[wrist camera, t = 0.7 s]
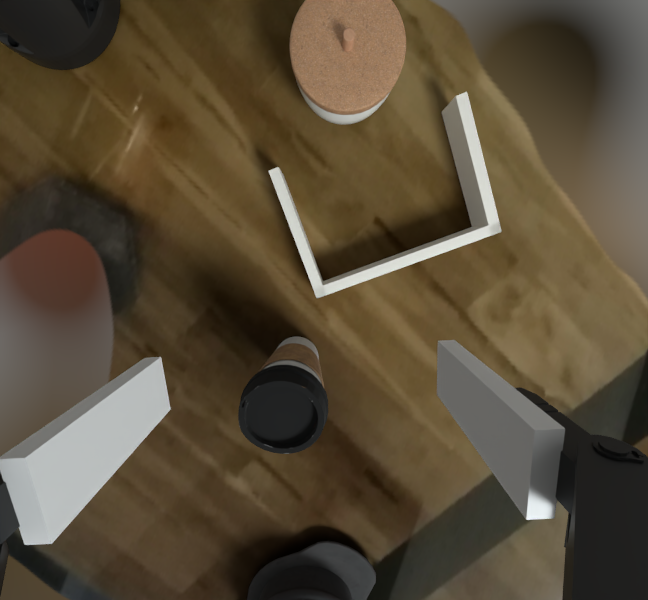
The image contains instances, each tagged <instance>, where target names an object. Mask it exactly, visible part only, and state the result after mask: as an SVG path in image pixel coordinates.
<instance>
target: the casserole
mask: <svg viewBox="0 0 648 600" xmlns="http://www.w3.org/2000/svg"><path fill="white" fill-rule="evenodd" d="M375 582H376V573H375V571H374V569H373V566H372V565H371V564H370V563H369V561H368V560H367V559H366V558H365V557H364V556H363V555H362V554H360V553H359V552H358V551H356V550H354V549H353V548H351V547H349V546H347V545H344V544H341V543H339V542H333V541H320V542H317V543H315V544H313V545H310V546H308V547H307V548H305V549H303V550H301V551H299V552H296V553H293V554H290V555H287V556H284V557H280V558H277V559H275V560H274V561H272V562H270V563H268V564H267V565H265V566H264V567H263V568H262V569H261V570H259V572H258V573H257V574H256V575H255V577H254V578H253V580H252V582H251V584H250V586H249V591H248V596H247V600H367V597H368V595H369V593H370V592H371V590H372V588H373V586H374V584H375Z"/></svg>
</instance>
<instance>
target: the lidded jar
mask: <svg viewBox="0 0 648 600" xmlns="http://www.w3.org/2000/svg"><path fill="white" fill-rule="evenodd" d="M289 49H290V59H291V64H292V69H293V72H294V75H295V78H296V81H297V84H298V87H299V90H300V92H301V94H302V96H303V98H304V100H305V101H306V103H307V104H308V105H309V107H310V108H311V109H312V110H313V111H314V112H315V113H316V114H317V115H318V116H320V117H321V118H322V119H324V120H326V121H328V122H331V123H335V124H342V125H344V124H353V123H357V122H359V121H362V120H364V119H365V118H367V117H369V116H370V115H371V114H372V113H374V112H375V111H376V110H377V109H378V108H379V107H380V106H381V104H382V103H383V102H384V101H385V99H386V98H387V96H388V95H389V93H390V91H391V90H392V88H393V86H394V85H395V83H396V81H397V79H398V77H399V75H400V72H401V70H402V67H403V63H404V59H405V53H406V35H405V28H404V25H403V21H402V18H401V16H400V13H399V11H398V9H397V7H396V6H395V4H394V3H393V1H392V0H305V1H304V3H303V4H302V5H301V7H300V9H299V10H298V12H297V14H296V16H295V19H294V22H293V24H292V29H291V33H290V43H289Z"/></svg>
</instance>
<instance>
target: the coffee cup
mask: <svg viewBox="0 0 648 600" xmlns="http://www.w3.org/2000/svg"><path fill="white" fill-rule="evenodd" d="M327 415H328V399H327V394H326V391H325V389H324V384H323V379H322V373H321V368H320V363H319V356H318V352H317V349H316V347H315V346H314V344H313V343H312V342H311V341H309V340H308V339H306V338H303V337H290V338H287V339H285V340H284V341H283V342H282V343H281V344H280V345H279V346H278V347H277V349H276V350H275V352H274V353H273V354H272V355H271V356H270V358H269V359H268V360H267V361H266V363H265V364H264V365H263V366H262V368H261V369H260V370H259V371H258V373H257V374H255V375H254V376H253V377H252V379H251V380H250V381H249V382H248V384H247V385H246V387H245V389H244V390H243V393H242V396H241V402H240V406H239V415H238V416H239V426H240V428H241V431H242V433H243V434H244V435H245V437H246V438H247V439H248V440H249V441H250V442H251V443H253V444H254V445H256V446H257V447H260V448H262V449H264V450H267V451H270V452H274V453H281V454H289V453H295V452H299V451H302V450H304V449H306V448H308V447H309V446H311V445H312V444H313V443H314V442H315V441H316V440H317V439H318V438H319V436H320V435H321V432H322V430H323V427H324V425H325V423H326V420H327Z"/></svg>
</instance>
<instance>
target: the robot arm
mask: <svg viewBox="0 0 648 600" xmlns="http://www.w3.org/2000/svg"><path fill="white" fill-rule="evenodd" d="M119 13H120V0H0V42H2V43H3V44H4V45H6V46H7V47H9V48H10V49H12V50H13V51H15V52H17V53H18V54H20V55H21V56H23V57H25V58H26V59H28V60H30V61H32V62H34V63H36V64H38V65H40V66H43V67H47V68H51V69H58V70H67V69H74V68H78V67H81V66H84V65H86V64H88V63H90V62H91V61H93V60H94V59H96V58H97V57H98V56H99V55H100V54H101V53H102V52H103V51H104V50H105V49H106V47H107V46H108V44H109V43H110V41H111V39H112V37H113V35H114V33H115V30H116V27H117V24H118V19H119ZM437 395H438V397H439V398H440V399H441V401H442V402H443V404H444V405H445V406H446V408H447V409H448V411H449V412H450V413H451V415H452V416H453V418H454V419H455V420H456V422H457V423H458V425H459V426H460V428H461V429H462V430H463V432H464V433H465V435H466V436H467V437H468V439H469V440H470V442H471V443H472V444H473V446H474V447H475V449H476V450H477V451H478V453H479V454H480V456H481V457H482V458H483V460H484V461H485V463H486V464H487V465H488V467H489V468H490V470H491V471H492V472H493V474H494V475H495V477H496V478H497V479H498V481H499V482H500V484H501V485H502V486H503V488H504V489H505V491H506V492H507V493H508V495H509V496H510V498H511V499H512V500H513V502H514V503H515V505H516V506H517V507H518V509H519V510H520V512H521V513H522V514H523V516H524V517H525V519H526V520H531V519H550V518H555V510H556V502H557V500H558V501H559V502H560V503H561V504H562V505H563V507H564V508H565V509H566V510H567V511H568V512H569V515H568V522H567V530H566V538H565V545H564V547H566V552H565V568H564V584H563V600H648V458H647V456H646V455H645V454H643V453H642V452H641V451H639V450H638V449H637V448H635V447H633V446H631V445H629V444H627V443H625V442H623V441H620V440H617V439H614V438H611V437H606V436H602V435H590V434H589V433H588V432H586V431H585V430H584V429H582V428H581V427H580V426H578V425H577V424H576V423H574V422H573V421H572V420H570V419H569V418H568V417H566V416H565V415H563V414H562V413H561V412H558V410H557V409H555V408H554V407H553V406H551V405H549V404H548V403H547V402H546V401H545V400H543V399H542V398H541V397H539V396H538V395H537V394H534V393H532V392H530V391H528V390H526V389H523V388H514V387H512V386H511V385H510V384H509V383H507V382H506V381H505V380H504V379H502V378H501V377H500V376H499V375H497V374H496V373H495V372H494V371H492V370H491V369H490V368H489V367H487V366H486V365H485V364H484V363H482V362H481V361H480V360H479V359H477V358H476V357H475V356H474V355H472V354H471V353H470V352H469V351H467V350H466V349H465V348H464V347H462V346H461V345H460V344H459V343H457V342H456V341H455V340H446V341H438V362H437ZM170 409H171V408H170V403H169V398H168V392H167V387H166V382H165V376H164V371H163V365H162V360H161V357H152V358H144V359H143V360H141V361H140V362H138V363H137V364H135V365H134V366H132V367H131V368H129V369H128V370H127V371H125V372H124V373H122V374H121V375H119V376H118V377H116V378H115V379H113V380H112V381H110V382H109V383H107V384H106V385H105V386H103V387H102V388H100V389H99V390H97V391H96V392H94V393H93V394H91V395H90V396H89V397H87V398H85V399H84V400H83V401H81V402H80V403H78V404H77V405H75V406H74V407H72V408H71V409H69V410H68V411H66V412H65V413H63V414H62V415H61V416H59V417H58V418H56V419H55V420H53V421H52V422H50V423H49V424H47V425H46V426H44V427H43V428H41V429H40V430H38V431H37V432H36V433H34V434H33V435H31V436H30V437H28V438H27V439H25V440H24V441H23V442H21V443H20V444H18V445H16V446H15V447H14V448H12V449H11V450H9V451H8V452H6V453H5V454H3V455H2V456H0V595H1V590H2V585H3V580H4V574H5V569H6V564H7V558H8V554H9V550H8V546H7V543H6V539H7V538H8V537H9V536H10V535H11V534H12V533H13V532H14V531H15V530H16V529H17V528H18V527H19V529H20V532H21V535H22V538H23V541H24V544H25V545H35V544H52V543H53V542H54V541H55V539H56V538H57V537H58V536H59V535H60V534H61V533H62V532H63V530H64V529H65V528H66V527H67V526H68V525H69V524H70V523H71V521H72V520H73V519H74V518H75V517H76V516H77V515H78V513H79V512H80V511H81V510H82V509H83V508H84V507H85V506H86V504H87V503H88V502H89V501H90V500H91V499H92V498H93V497H94V495H95V494H96V493H97V492H98V491H99V490H100V489H101V487H102V486H103V485H104V484H105V483H106V482H107V481H108V480H109V478H110V477H111V476H112V475H113V474H114V473H115V472H116V470H117V469H118V468H119V467H120V466H121V465H122V464H123V463H124V461H125V460H126V459H127V458H128V457H129V456H130V455H131V454H132V452H133V451H134V450H135V449H136V448H137V447H138V446H139V444H140V443H141V442H142V441H143V440H144V439H145V438H146V437H147V435H148V434H149V433H150V432H151V431H152V430H153V429H154V427H155V426H156V425H157V424H158V423H159V422H160V421H161V420H162V418H163V417H164V416H165V415H166V414H167V413H168V412H169V411H170Z"/></svg>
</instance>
